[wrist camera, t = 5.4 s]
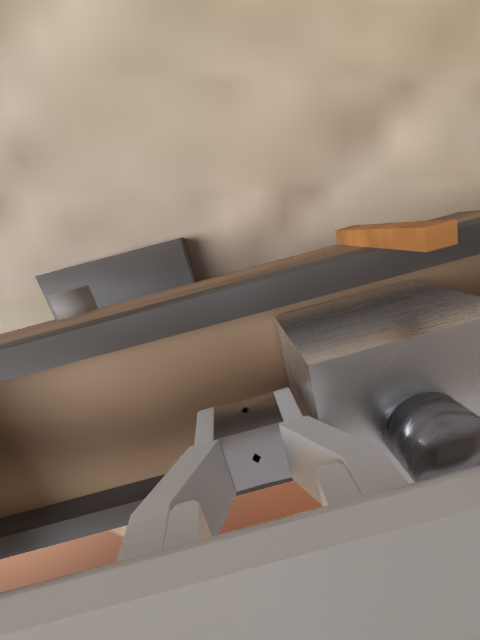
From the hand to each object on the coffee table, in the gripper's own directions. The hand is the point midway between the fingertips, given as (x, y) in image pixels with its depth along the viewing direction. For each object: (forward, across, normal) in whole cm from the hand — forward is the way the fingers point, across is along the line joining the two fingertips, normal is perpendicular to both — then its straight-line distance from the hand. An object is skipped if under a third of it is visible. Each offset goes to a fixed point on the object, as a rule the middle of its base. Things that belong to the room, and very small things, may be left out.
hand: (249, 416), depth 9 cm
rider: (+2, -4, 0) cm, 5 cm away
